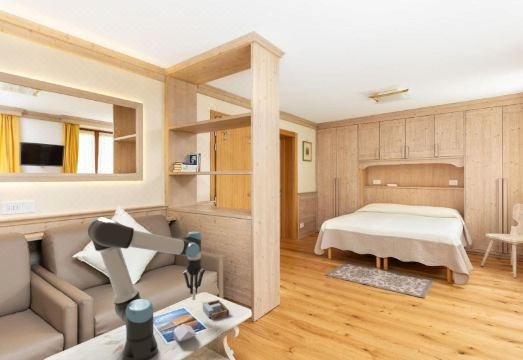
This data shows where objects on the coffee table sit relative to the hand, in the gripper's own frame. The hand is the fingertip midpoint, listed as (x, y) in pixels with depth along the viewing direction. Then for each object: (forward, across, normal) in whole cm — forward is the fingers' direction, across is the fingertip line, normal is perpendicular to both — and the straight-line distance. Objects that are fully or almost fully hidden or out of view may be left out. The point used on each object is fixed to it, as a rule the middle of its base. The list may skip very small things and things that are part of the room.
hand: (193, 299), depth 166 cm
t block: (+11, +12, 0) cm, 16 cm away
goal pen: (+10, +14, 0) cm, 18 cm away
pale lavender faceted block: (+12, -10, -18) cm, 23 cm away
